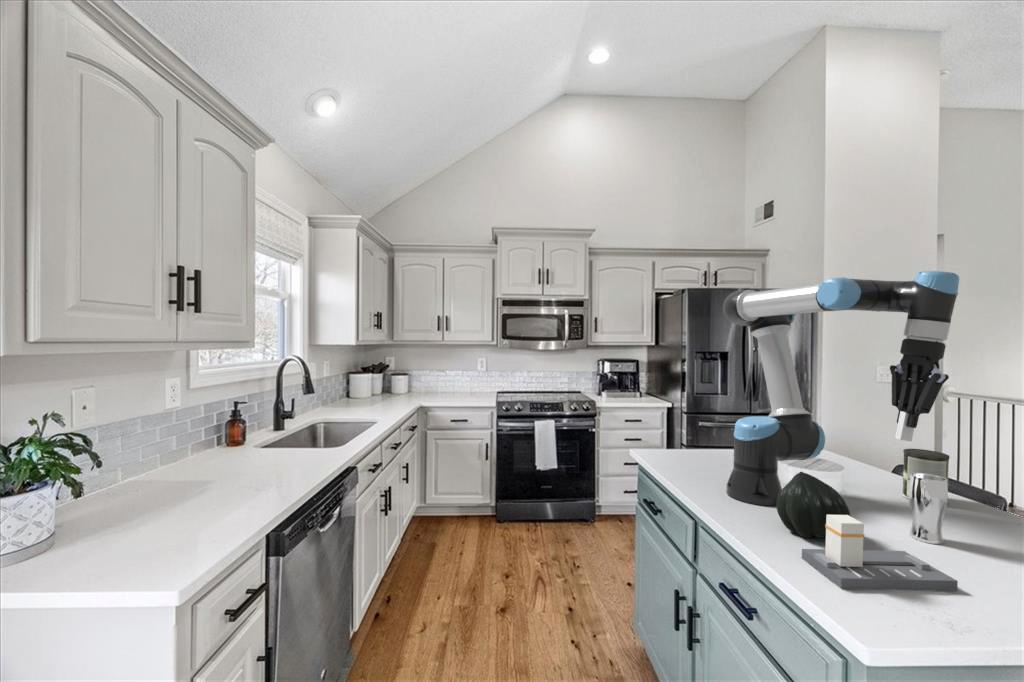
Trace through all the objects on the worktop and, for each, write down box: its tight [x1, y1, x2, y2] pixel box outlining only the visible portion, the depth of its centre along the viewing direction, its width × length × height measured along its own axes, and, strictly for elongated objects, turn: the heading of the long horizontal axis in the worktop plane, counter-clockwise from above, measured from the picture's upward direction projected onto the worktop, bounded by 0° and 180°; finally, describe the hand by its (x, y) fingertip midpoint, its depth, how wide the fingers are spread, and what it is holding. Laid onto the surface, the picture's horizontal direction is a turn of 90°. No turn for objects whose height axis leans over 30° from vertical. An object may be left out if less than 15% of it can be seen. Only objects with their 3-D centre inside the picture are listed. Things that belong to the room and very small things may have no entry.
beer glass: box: [908, 473, 949, 545], centre depth 111 cm, size 7×7×15 cm
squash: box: [775, 471, 851, 539], centre depth 113 cm, size 14×15×15 cm
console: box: [801, 548, 959, 592], centre depth 94 cm, size 22×12×3 cm, turn 90°
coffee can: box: [901, 448, 951, 505], centre depth 138 cm, size 10×10×14 cm
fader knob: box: [824, 515, 865, 567], centre depth 93 cm, size 5×5×9 cm
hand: (903, 439), depth 108 cm, fingers closed
